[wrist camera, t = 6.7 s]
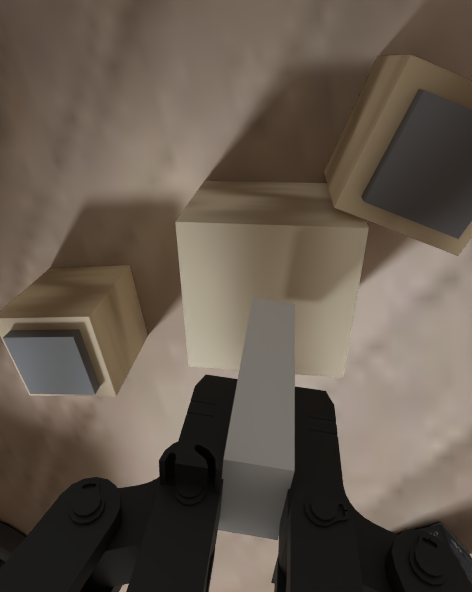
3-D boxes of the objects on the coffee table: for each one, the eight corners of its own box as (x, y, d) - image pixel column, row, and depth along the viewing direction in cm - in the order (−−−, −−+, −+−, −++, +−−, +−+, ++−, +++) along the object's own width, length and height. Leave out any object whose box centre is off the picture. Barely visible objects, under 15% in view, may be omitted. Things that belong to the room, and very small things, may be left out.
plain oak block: (210, 299, 23) (188, 366, 18) (205, 179, 20) (175, 221, 15) (331, 305, 23) (343, 377, 18) (348, 182, 19) (368, 228, 14)
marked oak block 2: (75, 335, 26) (23, 403, 21) (50, 267, 24) (-17, 325, 18) (148, 335, 25) (111, 405, 20) (129, 264, 23) (83, 324, 18)
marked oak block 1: (323, 171, 19) (335, 213, 14) (377, 55, 16) (416, 54, 11) (418, 209, 19) (463, 263, 14) (485, 101, 17) (570, 120, 12)
